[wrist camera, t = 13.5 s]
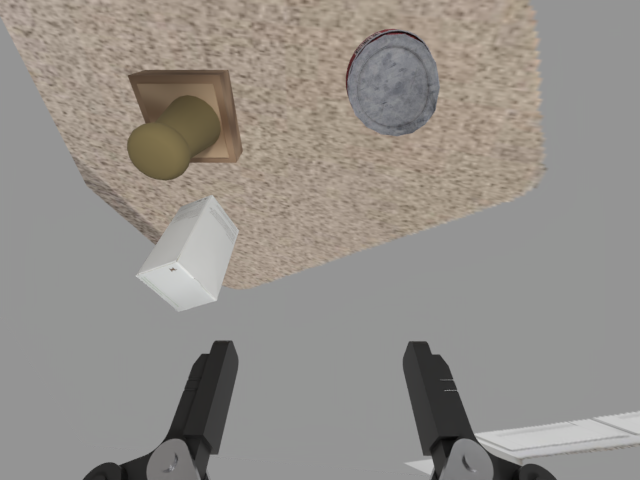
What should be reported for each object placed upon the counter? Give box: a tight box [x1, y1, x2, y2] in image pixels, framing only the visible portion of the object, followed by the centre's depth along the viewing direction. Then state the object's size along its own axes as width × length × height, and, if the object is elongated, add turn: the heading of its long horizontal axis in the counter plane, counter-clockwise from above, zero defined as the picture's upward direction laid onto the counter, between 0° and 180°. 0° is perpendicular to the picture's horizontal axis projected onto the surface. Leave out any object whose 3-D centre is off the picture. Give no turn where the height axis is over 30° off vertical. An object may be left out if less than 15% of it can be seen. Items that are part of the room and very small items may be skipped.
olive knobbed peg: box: [127, 95, 221, 181], centre depth 29 cm, size 6×6×11 cm
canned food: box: [346, 29, 440, 136], centre depth 32 cm, size 11×10×10 cm
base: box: [128, 70, 243, 163], centre depth 35 cm, size 10×10×4 cm
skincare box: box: [136, 195, 239, 312], centre depth 41 cm, size 8×7×16 cm
